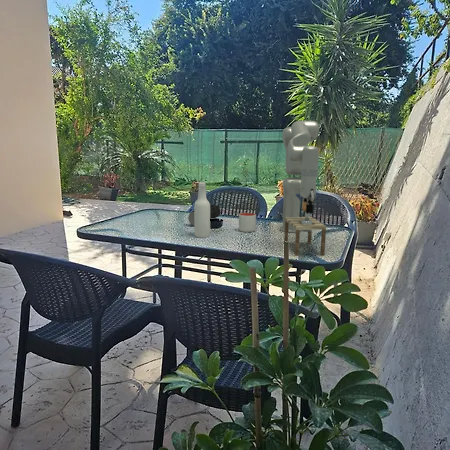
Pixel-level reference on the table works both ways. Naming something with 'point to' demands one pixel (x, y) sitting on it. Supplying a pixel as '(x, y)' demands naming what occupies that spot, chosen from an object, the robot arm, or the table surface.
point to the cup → (247, 222)
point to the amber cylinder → (306, 217)
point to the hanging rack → (297, 224)
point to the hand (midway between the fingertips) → (307, 211)
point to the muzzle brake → (214, 213)
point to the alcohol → (202, 213)
